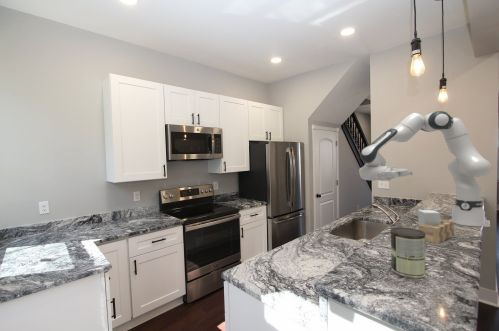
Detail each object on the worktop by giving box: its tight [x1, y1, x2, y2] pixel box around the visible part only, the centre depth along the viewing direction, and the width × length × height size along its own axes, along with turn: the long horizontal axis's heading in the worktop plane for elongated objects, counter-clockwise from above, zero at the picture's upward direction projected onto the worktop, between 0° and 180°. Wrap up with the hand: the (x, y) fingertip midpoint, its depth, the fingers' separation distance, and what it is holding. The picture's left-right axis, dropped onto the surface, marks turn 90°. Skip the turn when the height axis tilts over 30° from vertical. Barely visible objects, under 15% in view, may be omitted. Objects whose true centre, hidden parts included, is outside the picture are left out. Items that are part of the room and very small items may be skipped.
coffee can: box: [390, 227, 427, 279], centre depth 87 cm, size 10×10×14 cm
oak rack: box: [417, 219, 455, 245], centre depth 124 cm, size 21×8×7 cm, turn 126°
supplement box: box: [417, 209, 442, 226], centre depth 127 cm, size 7×7×13 cm
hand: (411, 173), depth 140 cm, fingers closed
